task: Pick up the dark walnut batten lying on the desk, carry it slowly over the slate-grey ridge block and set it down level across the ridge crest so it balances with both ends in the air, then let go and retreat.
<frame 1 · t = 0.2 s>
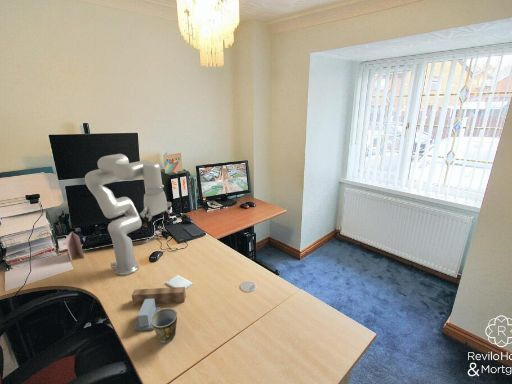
hand: (158, 223, 126), 37 cm above the table, tool pointing down, fingers open, 9 cm apart
walnut batten: (160, 301, 129), on the table
greeting card: (79, 256, 167), on the table
hard drive: (179, 285, 141), on the table
ridge block: (148, 319, 117), on the table
ceramic cup: (167, 339, 108), on the table
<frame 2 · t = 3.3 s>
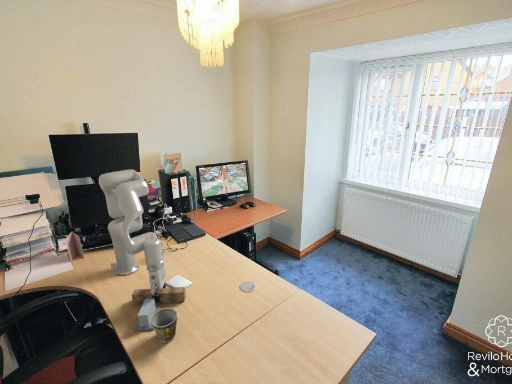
hand: (159, 294, 127), 4 cm above the table, tool pointing down, fingers open, 9 cm apart
nothing on the table moved.
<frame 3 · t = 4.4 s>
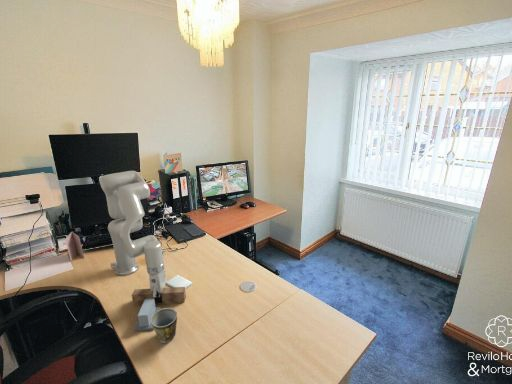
hand: (160, 299, 128), 1 cm above the table, tool pointing down, fingers closed on walnut batten, 4 cm apart
walnut batten: (160, 301, 129), on the table, touching gripper
everything else where it was.
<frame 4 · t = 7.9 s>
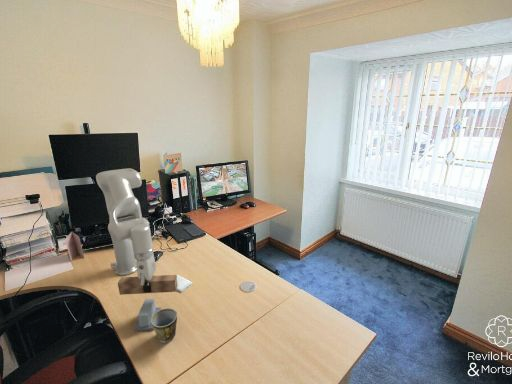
hand: (149, 288, 117), 13 cm above the table, tool pointing down, fingers closed on walnut batten, 4 cm apart
walnut batten: (149, 290, 118), point 12 cm above the table, touching gripper
everything else where it was.
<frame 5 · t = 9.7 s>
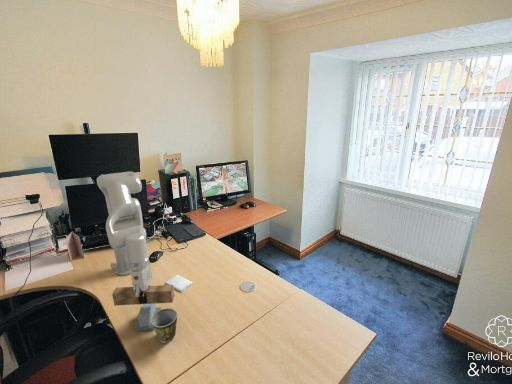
hand: (145, 298, 114), 11 cm above the table, tool pointing down, fingers closed on walnut batten, 4 cm apart
walnut batten: (145, 300, 114), point 10 cm above the table, touching gripper
everything else where it was.
when the fingers open (9 cm above the table, at t = 11.4 s): walnut batten stays where it is, resting on ridge block.
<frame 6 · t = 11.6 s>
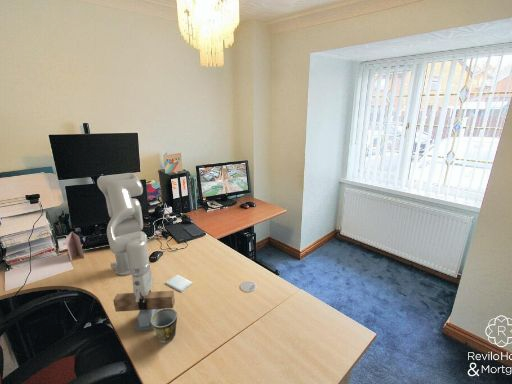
hand: (145, 303, 114), 9 cm above the table, tool pointing down, fingers open, 5 cm apart
walnut batten: (146, 306, 115), point 7 cm above the table, touching ridge block
everything else where it was.
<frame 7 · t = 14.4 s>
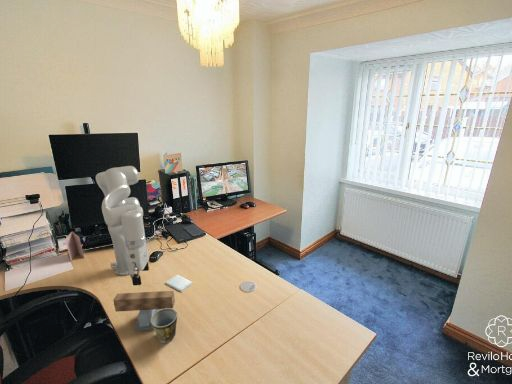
hand: (141, 277, 110), 22 cm above the table, tool pointing down, fingers open, 9 cm apart
nothing on the table moved.
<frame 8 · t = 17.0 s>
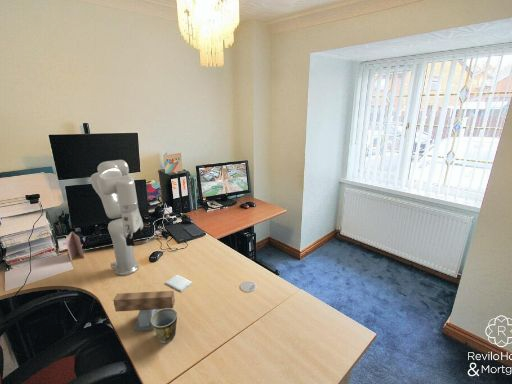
hand: (134, 240, 124), 30 cm above the table, tool pointing down, fingers open, 9 cm apart
nothing on the table moved.
at the end: walnut batten 0.1 cm off-centre on the ridge block, point 7.2 cm above the ridge block's base; walnut batten tilted 0°; walnut batten touching ridge block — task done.
